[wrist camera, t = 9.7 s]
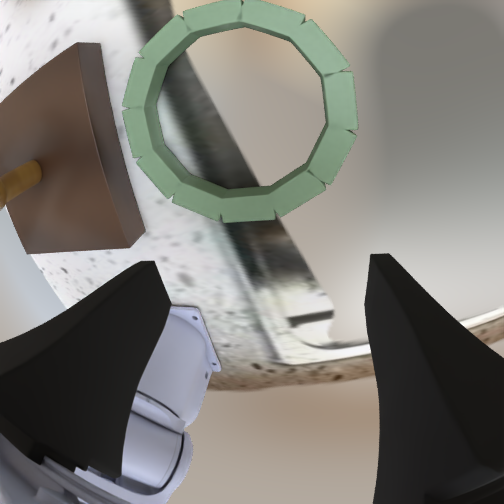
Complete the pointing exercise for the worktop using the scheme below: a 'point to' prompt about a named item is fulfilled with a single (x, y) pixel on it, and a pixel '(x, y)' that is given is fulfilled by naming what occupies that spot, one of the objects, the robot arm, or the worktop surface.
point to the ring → (253, 198)
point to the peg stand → (66, 159)
